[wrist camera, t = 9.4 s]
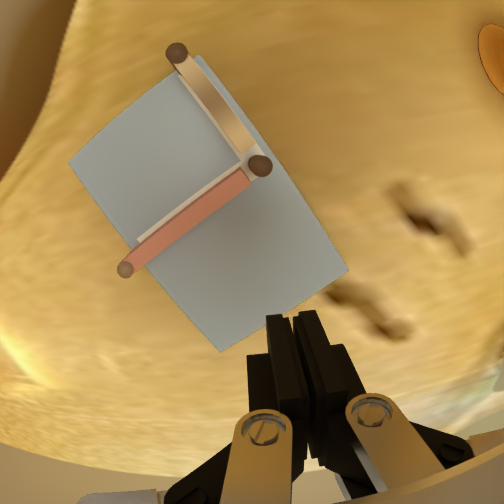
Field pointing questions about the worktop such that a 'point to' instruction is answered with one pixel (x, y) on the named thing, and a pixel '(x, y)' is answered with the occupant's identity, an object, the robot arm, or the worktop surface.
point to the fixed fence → (217, 106)
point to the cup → (493, 54)
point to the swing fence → (184, 221)
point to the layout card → (216, 224)
